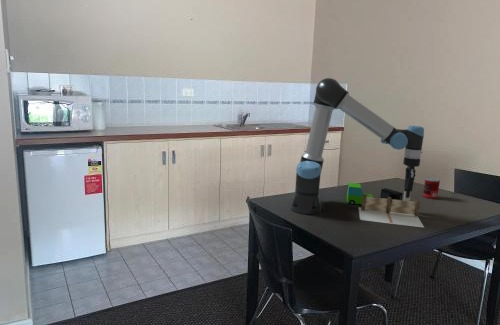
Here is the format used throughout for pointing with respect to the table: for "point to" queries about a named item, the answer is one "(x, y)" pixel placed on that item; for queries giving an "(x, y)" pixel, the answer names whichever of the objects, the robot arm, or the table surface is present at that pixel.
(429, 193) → the canned food
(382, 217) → the card
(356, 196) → the toy car
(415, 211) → the fence gate
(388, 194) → the digital camera
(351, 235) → the table surface
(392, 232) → the table surface
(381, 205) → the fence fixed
